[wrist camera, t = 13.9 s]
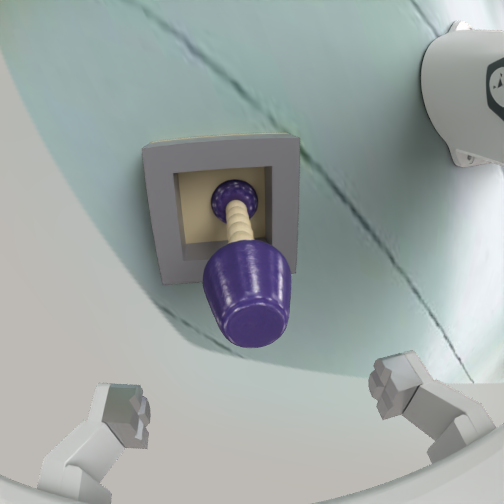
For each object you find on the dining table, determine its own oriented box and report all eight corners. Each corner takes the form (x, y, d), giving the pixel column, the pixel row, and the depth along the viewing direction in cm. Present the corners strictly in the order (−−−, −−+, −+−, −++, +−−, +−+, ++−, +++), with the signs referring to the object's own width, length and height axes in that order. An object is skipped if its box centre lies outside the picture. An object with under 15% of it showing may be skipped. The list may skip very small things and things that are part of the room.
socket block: (286, 132, 26) (299, 137, 22) (284, 250, 32) (295, 273, 28) (152, 141, 25) (141, 148, 21) (168, 260, 30) (162, 285, 26)
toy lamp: (235, 235, 29) (265, 374, 14) (194, 209, 27) (182, 338, 13) (266, 196, 28) (334, 309, 13) (225, 166, 26) (250, 256, 11)
